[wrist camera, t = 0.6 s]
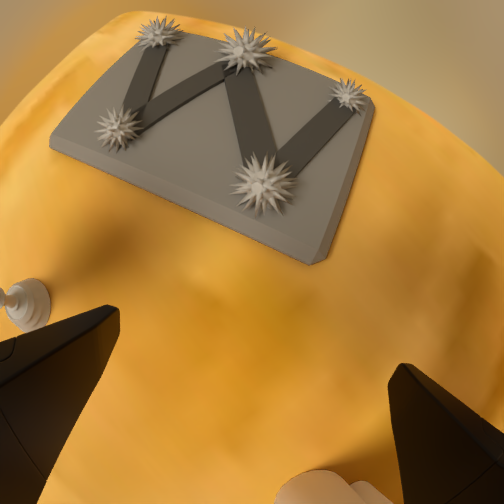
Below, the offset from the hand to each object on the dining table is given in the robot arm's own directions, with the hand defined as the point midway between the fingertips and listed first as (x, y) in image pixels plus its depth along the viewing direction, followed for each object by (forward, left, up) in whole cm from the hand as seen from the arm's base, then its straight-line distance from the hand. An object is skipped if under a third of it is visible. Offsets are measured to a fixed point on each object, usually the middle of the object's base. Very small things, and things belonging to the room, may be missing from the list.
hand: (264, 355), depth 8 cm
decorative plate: (+22, +3, -15) cm, 27 cm away
